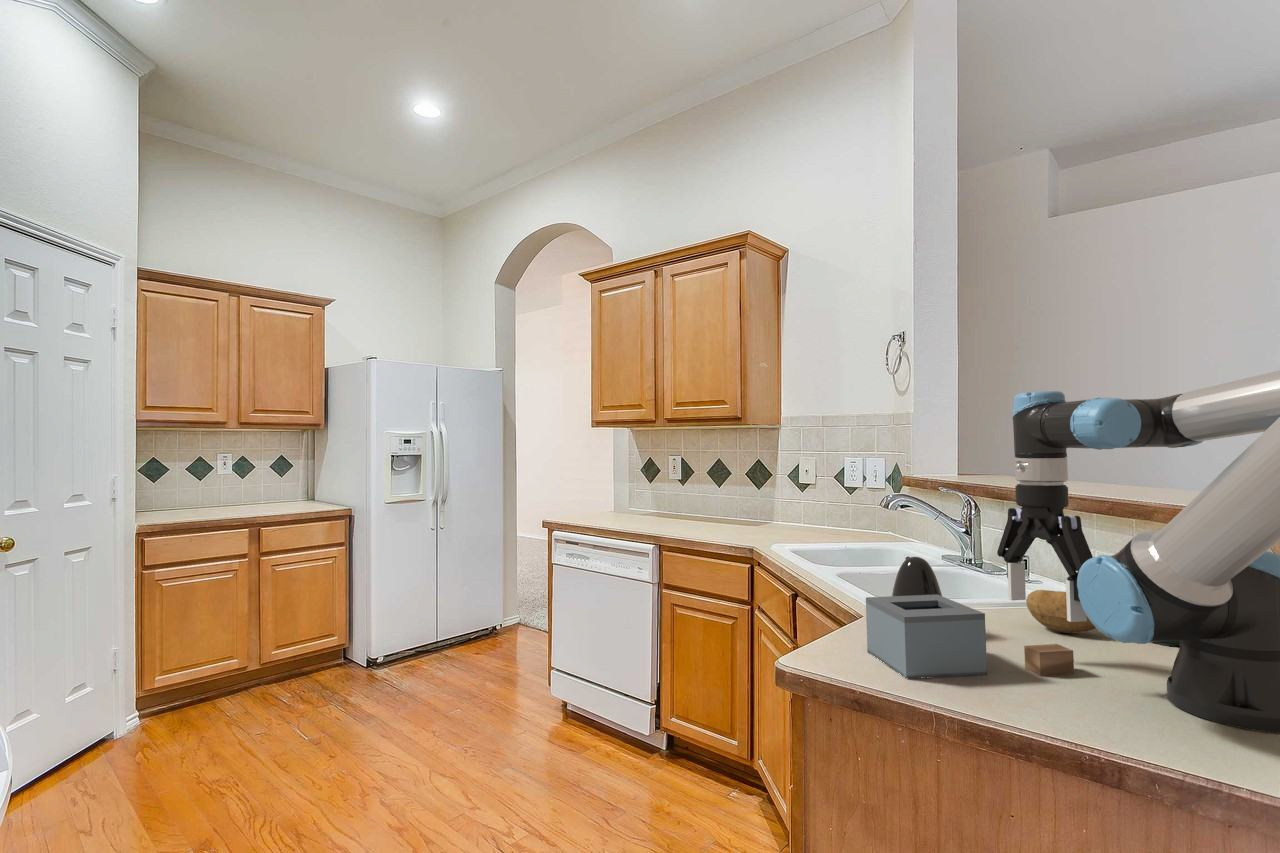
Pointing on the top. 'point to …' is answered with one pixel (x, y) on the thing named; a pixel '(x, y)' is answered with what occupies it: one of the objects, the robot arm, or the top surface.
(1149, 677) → the top surface
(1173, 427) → the robot arm
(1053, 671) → the block
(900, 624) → the box
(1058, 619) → the potato
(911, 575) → the black dome cover
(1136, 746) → the top surface
